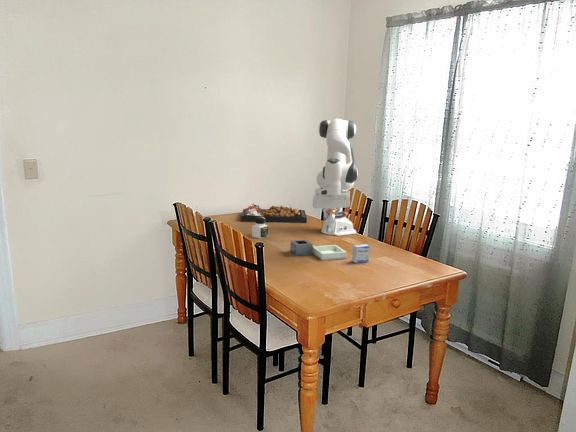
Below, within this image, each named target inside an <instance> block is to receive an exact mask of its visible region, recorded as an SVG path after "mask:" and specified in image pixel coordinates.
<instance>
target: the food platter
mask: <svg viewBox="0 0 576 432" xmlns="http://www.w3.org/2000/svg"><path fill="white" fill-rule="evenodd" d="M249 205H250V206H247V207H246V208H243V210H242V212H241V215H240V222H242V223H255V218H257V217H264V218H265V223H274V222H277V223H287V224H288V223H289V224H307V222H308V217H307V213H306V211H305V209H297V208H292V207H291V206H290V207H288V206H285V207H284V206H282V205H281V206H275V205H271V206H270V207H269V208H265V209H263V208H260V206H259V205H256V204H254V203H252V204H249Z"/></svg>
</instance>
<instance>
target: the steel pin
mask: <svg viewBox="0 0 576 432" xmlns="http://www.w3.org/2000/svg"><path fill="white" fill-rule="evenodd" d="M327 213H328V216H327V221H326V232H327V233H334V228H335V210H334V209H327Z"/></svg>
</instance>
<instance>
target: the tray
mask: <svg viewBox="0 0 576 432" xmlns="http://www.w3.org/2000/svg"><path fill="white" fill-rule="evenodd" d="M312 255H314V256H316V257H317V258H318V259H319V260H321V261H331V260H344V259H345V260H346V259H347V258H348V257H347V256H348V252H347V251H346V250H344V248H343V249H342V247H340V246H338V245H337V244H329V245H317V246H314V245H313V252H312Z"/></svg>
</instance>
